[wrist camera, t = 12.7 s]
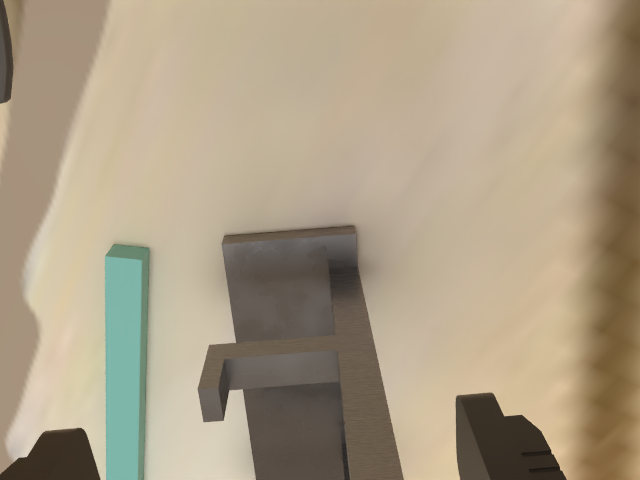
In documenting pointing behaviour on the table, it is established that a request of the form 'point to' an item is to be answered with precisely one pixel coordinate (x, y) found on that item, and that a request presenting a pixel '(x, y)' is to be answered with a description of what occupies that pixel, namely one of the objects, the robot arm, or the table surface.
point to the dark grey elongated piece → (5, 57)
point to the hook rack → (302, 359)
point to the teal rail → (126, 360)
